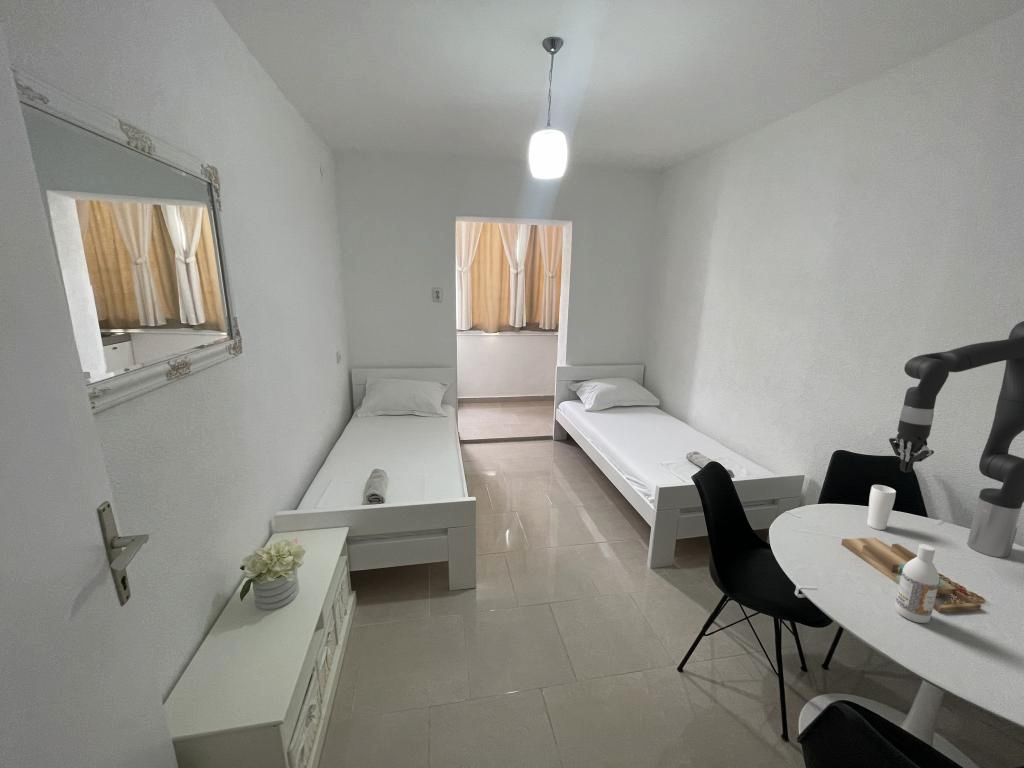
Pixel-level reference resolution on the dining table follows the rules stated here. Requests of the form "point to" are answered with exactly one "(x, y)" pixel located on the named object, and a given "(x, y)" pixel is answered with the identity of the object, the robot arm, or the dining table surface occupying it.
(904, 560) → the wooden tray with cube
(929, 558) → the bath foam
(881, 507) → the drinking glass
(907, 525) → the dining table surface
